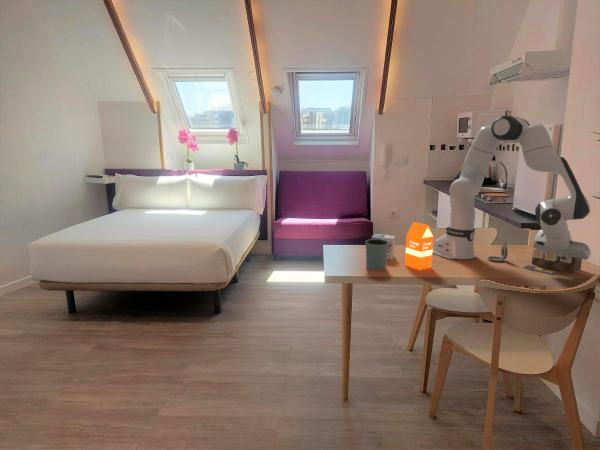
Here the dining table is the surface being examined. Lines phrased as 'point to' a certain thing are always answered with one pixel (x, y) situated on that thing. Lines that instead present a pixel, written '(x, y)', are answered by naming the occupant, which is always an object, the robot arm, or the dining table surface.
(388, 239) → the light bulb box
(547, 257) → the button middle
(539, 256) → the button left
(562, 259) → the button right
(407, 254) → the orange juice
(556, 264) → the console
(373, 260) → the grey green cup
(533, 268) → the pattern tile
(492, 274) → the dining table surface
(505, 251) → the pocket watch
